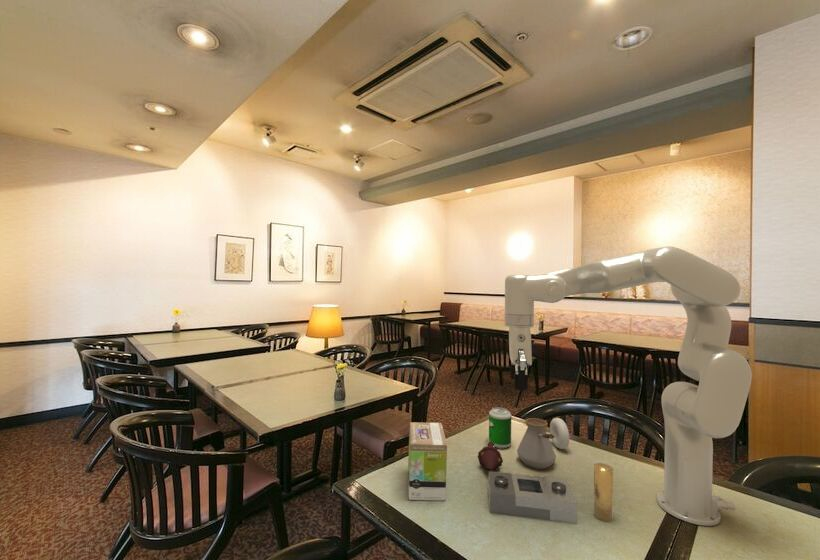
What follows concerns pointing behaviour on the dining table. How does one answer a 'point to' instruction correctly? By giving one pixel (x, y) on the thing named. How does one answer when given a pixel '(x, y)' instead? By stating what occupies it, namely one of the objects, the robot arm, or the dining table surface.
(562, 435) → the donut
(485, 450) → the icecream
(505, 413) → the soda can
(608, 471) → the pin
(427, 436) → the tea box
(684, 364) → the robot arm
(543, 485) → the grey rectangular block
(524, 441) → the coffee pot
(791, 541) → the dining table surface
